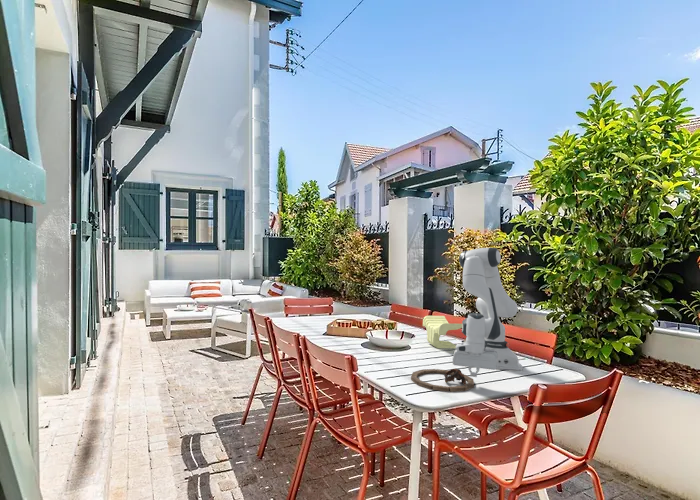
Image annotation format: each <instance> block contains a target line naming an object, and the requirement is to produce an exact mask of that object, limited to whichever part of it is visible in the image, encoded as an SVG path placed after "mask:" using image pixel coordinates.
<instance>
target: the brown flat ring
mask: <svg viewBox="0 0 700 500" xmlns="http://www.w3.org/2000/svg"><path fill="white" fill-rule="evenodd" d="M448 371H449V369H448V370H447V369H441V368H440V369H439V368H429V369H419V370H416V371H412V374H411V376H410V380H411V382H413V383H414V384H415V385H417V386H420V387H422V388H426V389H429V390H433V391H441V392H446V393H447V392H448V393H449V392H451V393H455V392H467V391H469V390H471V389H474V387H475V385H474V384H475V383H474V381H475V380H474V379H473V378H472V377H471V376H470V375H466V374H465V373H462V374H463V375H464V377H465V380H466V384H465V385H464V384H463V385H454V386H447V385H440V384H439V385H437V384H432V383H428V382H426V381H423V380H421V379H420V378H418V377H419V376H422V375H426V374H427V375H428V374H432V375H433V374H440V375H445V373H446V372H448ZM453 374H454V372H453V373H451V374H449V375H448V376H451V375H453Z"/></svg>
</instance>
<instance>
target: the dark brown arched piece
mask: <svg viewBox="0 0 700 500" xmlns="http://www.w3.org/2000/svg"><path fill="white" fill-rule="evenodd" d="M448 370H449V369H448ZM453 372H454V374H453V375H449V374H451V373H453ZM463 374H464V373H463V372H462V371H461V369H459V368H452V369H450V370H449V371H448V372H446V373H445V374H443V375H444V381H445V383H449V382H455V380H456V381H458V382H459V381H460V382H461V383H462V384H463V385H465V384H467V381H466V380H465V377H464V375H465V374H464V375H463Z"/></svg>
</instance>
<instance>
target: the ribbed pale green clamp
mask: <svg viewBox="0 0 700 500" xmlns="http://www.w3.org/2000/svg"><path fill="white" fill-rule="evenodd" d="M422 327H425V329H426V336H427V337H426V341H427V342H428V343H429V344H430V345H431V346H432V347H434V348H436V349H456V345H457V344H454V343H453V342H452V341H449V340H440V337H441V336H446V335H447V333H448V331H457V330H462V323H449V321H448V320H447V318H446V316H445V315H425V316H424V317H423V319H422Z"/></svg>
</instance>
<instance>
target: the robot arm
mask: <svg viewBox="0 0 700 500" xmlns="http://www.w3.org/2000/svg"><path fill="white" fill-rule="evenodd" d="M500 252H501V251H500V250H499V249H498V248H497V247H491V246H490V247H480V248H479V247H478V248H475V249H469V250H463V251H461V252H460V254H459V257H458V261H459V265H460V267H461V268H462V269H463V270H462V287H463V288H464V290H465V291H466V292H467V293H468V294H470V295H472V296H474V297H477V299H476V301H475V307H476V309H477V311H478V312H479V313H478V312H471V313H468V314H467V317H465V319H463V320H462V321H461V324H462V328H461V333H462V334H463V335H464V336H466V338H465V342H460V343H457V344H455V345H456V348H455V349H454V353H453V355H452V356H453V357H452V365H454V366H459V367H465V368H467V369H468V371H469V373H470V375H469V377H471V378H472V377H475V378H477V376H478V374H479V372H480V369H483V370H493V371H495V370H511V371H521V370H523V365H522V364H521V363H520V362H519V357H518V355H517V354H516V353H514V352H513V350H511V349H510V348H509V347H511V344H510V343H509V342H508V341H506V326H505V325H504V324H503V323H502V322H501V320H500V318H513V317H514V316H516V314H517V312H518V304H517V302H516V301H515V300H513V299H512V298H511V297H510V296H509V295H508V293H507V291H506V290H505V288H504V287H503V284H502V280H501V276H500V271H499V269H498V268H499V267H498V266H499V265H500V263H501V259H502V257H501V253H500ZM472 368H474V369H475V371H472Z"/></svg>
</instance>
